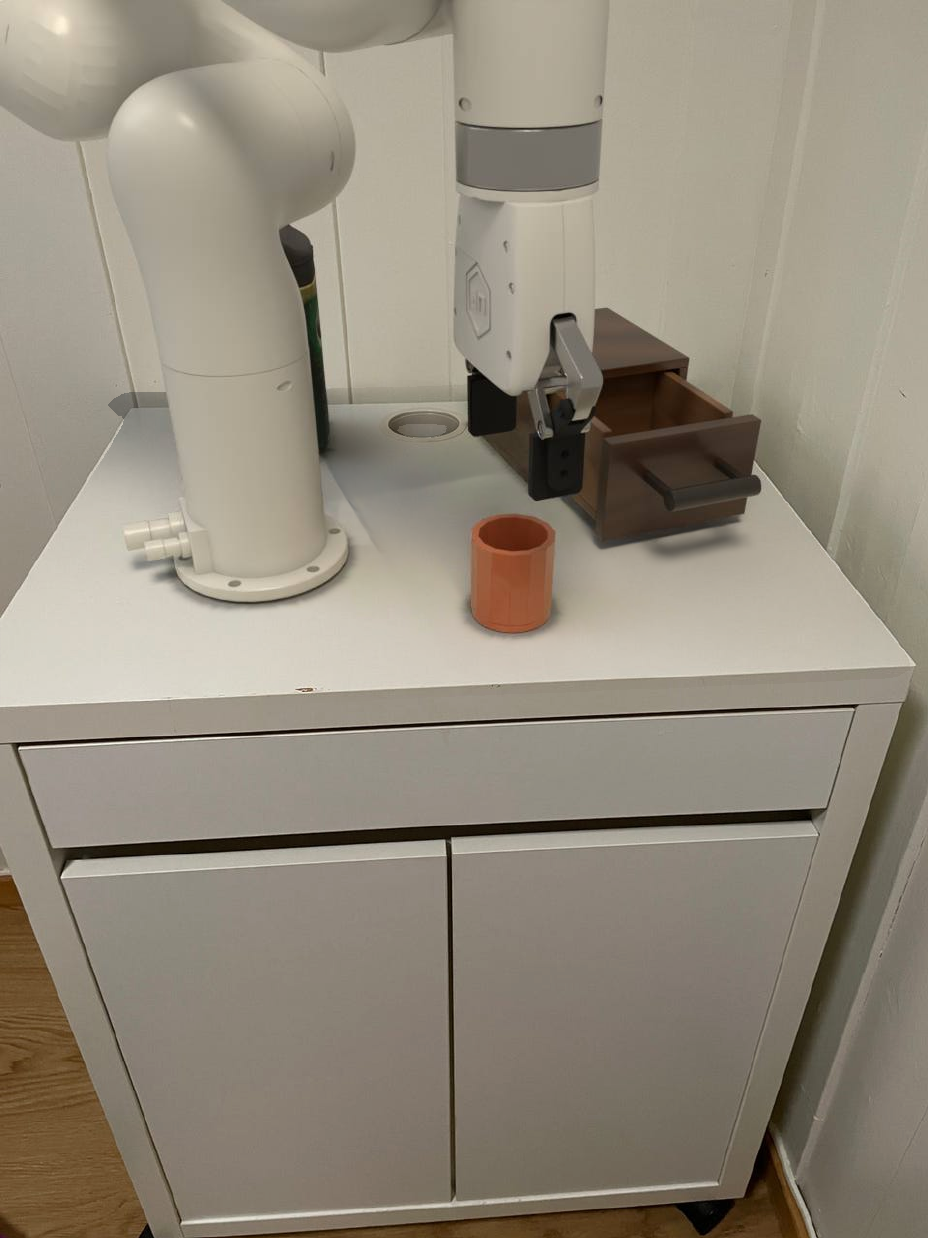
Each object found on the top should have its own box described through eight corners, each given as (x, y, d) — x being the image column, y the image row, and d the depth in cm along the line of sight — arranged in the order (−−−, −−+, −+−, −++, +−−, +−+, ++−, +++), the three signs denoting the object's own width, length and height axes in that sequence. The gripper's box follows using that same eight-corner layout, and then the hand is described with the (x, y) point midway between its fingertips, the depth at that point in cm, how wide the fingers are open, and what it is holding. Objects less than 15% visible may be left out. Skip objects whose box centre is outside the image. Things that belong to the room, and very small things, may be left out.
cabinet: (675, 464, 85) (690, 357, 80) (533, 489, 81) (537, 378, 76) (599, 404, 97) (607, 307, 91) (471, 423, 93) (471, 323, 87)
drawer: (781, 542, 72) (801, 445, 68) (632, 573, 69) (644, 472, 64) (657, 445, 86) (667, 359, 82) (529, 467, 83) (532, 378, 79)
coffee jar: (244, 422, 93) (216, 216, 82) (328, 417, 94) (311, 213, 83) (241, 466, 85) (209, 244, 75) (332, 460, 86) (314, 240, 76)
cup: (488, 640, 64) (490, 561, 60) (459, 597, 68) (459, 521, 65) (564, 623, 65) (569, 546, 62) (530, 582, 70) (534, 507, 66)
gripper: (407, 140, 56) (419, 420, 66) (527, 195, 43) (520, 537, 52) (527, 131, 58) (522, 404, 68) (677, 181, 45) (644, 512, 55)
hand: (521, 461), depth 60 cm, fingers open, 9 cm apart
